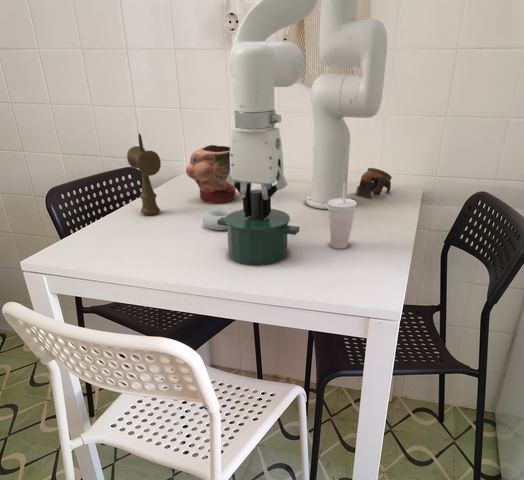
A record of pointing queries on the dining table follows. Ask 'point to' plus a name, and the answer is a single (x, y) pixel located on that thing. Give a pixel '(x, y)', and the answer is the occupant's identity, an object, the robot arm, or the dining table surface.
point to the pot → (258, 244)
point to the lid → (256, 216)
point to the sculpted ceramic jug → (212, 173)
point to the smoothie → (341, 219)
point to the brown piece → (377, 185)
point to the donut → (216, 217)
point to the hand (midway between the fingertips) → (257, 215)
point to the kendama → (145, 174)
